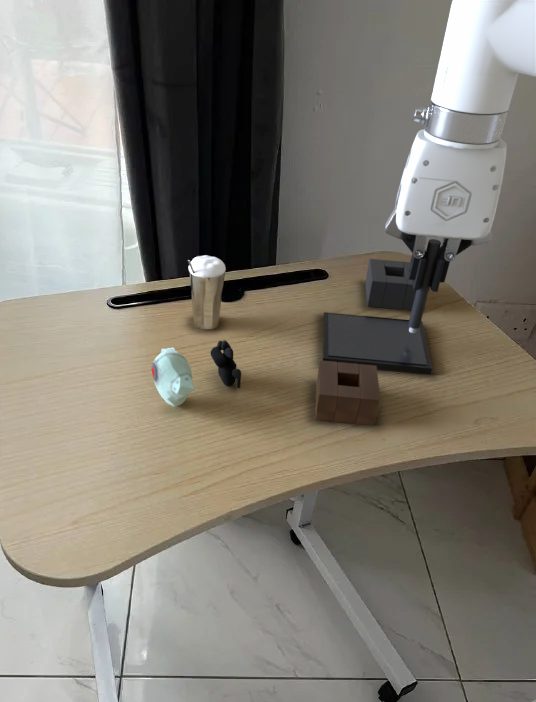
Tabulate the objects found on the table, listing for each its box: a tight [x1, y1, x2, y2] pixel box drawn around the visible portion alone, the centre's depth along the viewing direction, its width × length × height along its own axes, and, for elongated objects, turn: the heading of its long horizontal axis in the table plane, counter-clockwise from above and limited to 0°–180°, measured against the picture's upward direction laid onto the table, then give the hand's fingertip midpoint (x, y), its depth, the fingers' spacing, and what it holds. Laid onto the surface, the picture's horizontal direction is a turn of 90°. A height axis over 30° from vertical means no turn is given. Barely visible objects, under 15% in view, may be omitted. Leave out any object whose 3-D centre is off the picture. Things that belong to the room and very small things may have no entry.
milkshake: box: [187, 254, 227, 331], centre depth 83 cm, size 5×5×10 cm
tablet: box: [322, 311, 433, 375], centre depth 84 cm, size 13×11×1 cm
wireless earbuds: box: [210, 339, 242, 390], centre depth 75 cm, size 7×2×5 cm, turn 19°
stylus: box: [408, 238, 442, 333], centre depth 78 cm, size 1×1×12 cm
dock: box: [364, 258, 416, 311], centre depth 93 cm, size 7×7×4 cm
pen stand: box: [314, 359, 381, 426], centre depth 73 cm, size 6×6×4 cm
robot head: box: [151, 347, 196, 407], centre depth 71 cm, size 8×4×7 cm, turn 20°
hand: (424, 284), depth 78 cm, fingers closed on stylus, 1 cm apart
